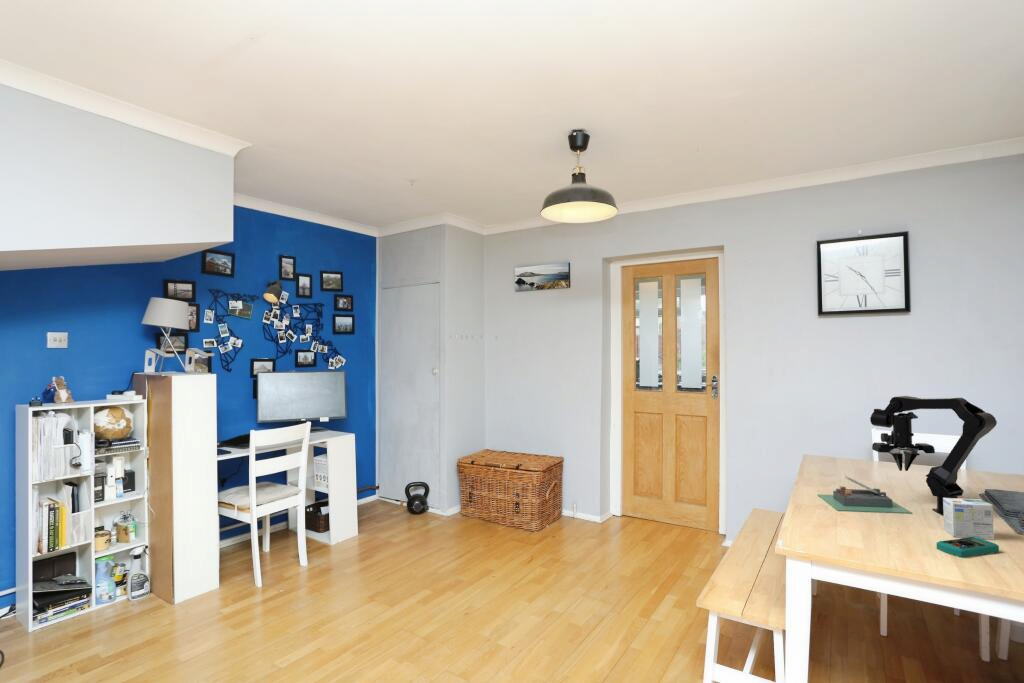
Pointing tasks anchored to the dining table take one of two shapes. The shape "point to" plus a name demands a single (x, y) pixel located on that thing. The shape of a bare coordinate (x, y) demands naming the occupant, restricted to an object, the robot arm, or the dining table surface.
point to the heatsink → (862, 498)
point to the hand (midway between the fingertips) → (903, 470)
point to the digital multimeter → (967, 547)
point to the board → (840, 507)
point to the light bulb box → (968, 518)
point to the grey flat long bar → (862, 485)
